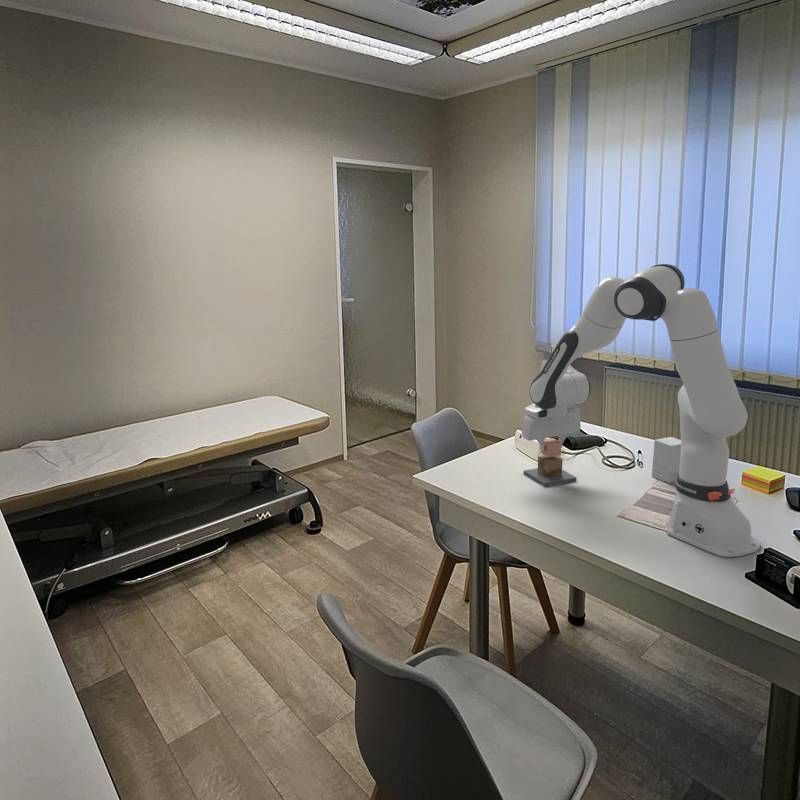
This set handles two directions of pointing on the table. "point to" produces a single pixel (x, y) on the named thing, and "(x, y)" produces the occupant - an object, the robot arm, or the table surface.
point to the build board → (549, 481)
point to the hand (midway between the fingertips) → (550, 449)
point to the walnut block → (550, 466)
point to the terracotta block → (552, 447)
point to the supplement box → (666, 459)
